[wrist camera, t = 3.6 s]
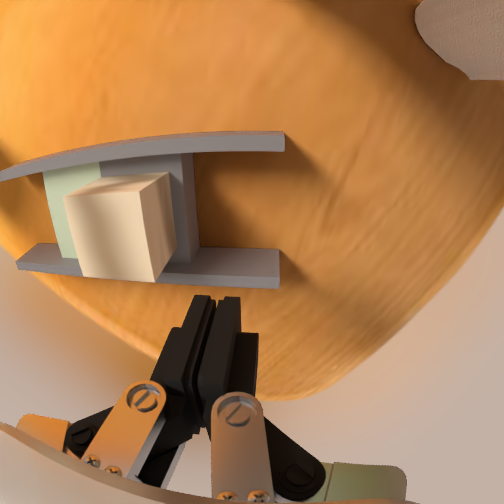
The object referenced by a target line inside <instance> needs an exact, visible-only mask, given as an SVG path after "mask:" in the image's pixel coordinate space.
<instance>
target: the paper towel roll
mask: <svg viewBox="0 0 504 504" xmlns="http://www.w3.org/2000/svg"><path fill="white" fill-rule="evenodd" d="M415 23H416V26H417V29H418V32H419V33H420V35H421V37H422V38H423V40H424V41H425V43H426V44H427V45H428V46H429V47H430V48H431V49H433V50H434V51H435V52H436V53H437V54H438V55H439V56H440V57H441V58H442V59H443V60H444V61H445V62H447V63H449V64H451V65H453V66H455V67H457V68H459V69H460V70H461V71H462V72H464V73H465V74H466V75H467V76H468V78H469V79H470V80H504V0H424V1H422V2H421V3H420V4H419V5H418V7H417V8H416V9H415Z"/></svg>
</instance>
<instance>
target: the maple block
mask: <svg viewBox="0 0 504 504" xmlns="http://www.w3.org/2000/svg"><path fill="white" fill-rule="evenodd" d="M63 201H64V205H65V210H66V215H67V219H68V223H69V227H70V231H71V235H72V239H73V243H74V246H75V250H76V254H77V257H78V260H79V264H80V267H81V270H82V273H83V276H84V277H94V278H105V279H117V280H130V281H143V282H156V280H157V278H158V277H159V275H160V274H161V272H162V270H163V269H164V267H165V266H166V264H167V262H168V261H169V259H170V258H171V256H172V255H173V253H174V251H175V250H176V248H177V240H176V232H175V224H174V216H173V207H172V198H171V188H170V177H169V172H157V173H142V174H130V175H119V176H109V177H101V178H99V179H97V180H95V181H93V182H91V183H89V184H87V185H85V186H83V187H81V188H79V189H77V190H76V191H74V192H72V193H70V194H68V195H66V196H65V197H63Z"/></svg>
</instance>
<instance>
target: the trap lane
mask: <svg viewBox="0 0 504 504" xmlns="http://www.w3.org/2000/svg"><path fill="white" fill-rule="evenodd" d="M218 151H278V152H285V135H284V133H283V131H221V132H199V133H185V134H172V135H162V136H153V137H144V138H136V139H129V140H122V141H115V142H109V143H103V144H98V145H92V146H87V147H82V148H77V149H72V150H68V151H63V152H59V153H55V154H51V155H47V156H43V157H39V158H35V159H32V160H28V161H24V162H21V163H18V164H16V165H13V166H11V167H8V168H6V169H4V170H1V171H0V182H2V181H5V180H9V179H13V178H17V177H21V176H25V175H29V174H34V173H38V172H43V171H48V170H53V169H58V168H63V167H69V166H74V165H80V164H86V163H93V162H99V166H100V174H101V177H109V176H119V175H130V174H142V173H157V172H169V177H170V188H171V198H172V207H173V216H174V224H175V232H176V240H177V248H176V250H175V251H174V253H173V255H172V256H171V258H170V259H169V261H168V262H167V264H166V266H165V267H164V269H163V270H162V272H161V274H160V275H159V277H158V278H157V280H156V282H153V283H167V284H183V285H201V286H221V287H244V288H272V289H279V284H280V261H279V249H257V248H221V247H200V242H199V231H198V220H197V208H196V195H195V180H194V164H193V152H218ZM16 264H17V267H18V269H19V270H27V271H35V272H44V273H52V274H62V275H71V276H81V277H84V276H83V273H82V270H81V267H80V264H79V260H78V258H62V255H61V251H60V248H59V245H58V244H54V243H38V244H37V245H35V246H34V247H33V248H32V249H30V250H29V251H28V252H27V253H25V254H24V255H23V256H22V257H20V258H19V259H18V260H17V261H16ZM92 278H94V277H92ZM103 279H105V278H103ZM114 280H117V279H114ZM126 281H130V280H126ZM139 282H143V281H139Z"/></svg>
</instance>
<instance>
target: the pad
mask: <svg viewBox="0 0 504 504" xmlns="http://www.w3.org/2000/svg"><path fill="white" fill-rule="evenodd" d="M42 174H43V180H44V185H45V191H46V196H47V201H48V205H49V210H50V214H51V218H52V222H53V226H54V230H55V234H56V238H57V241H58V245H59V248H60V251H61V255H62V258H78V257H77V254H76V250H75V246H74V243H73V239H72V235H71V231H70V227H69V223H68V219H67V215H66V210H65V205H64V201H63V197H65V196H66V195H68V194H70V193H72V192H74V191H76V190H77V189H79V188H81V187H83V186H85V185H87V184H89V183H91V182H93V181H95V180H97V179H99V178H101V174H100V166H99V162H93V163H86V164H80V165H74V166H69V167H63V168H58V169H53V170H48V171H43V172H42Z"/></svg>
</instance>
